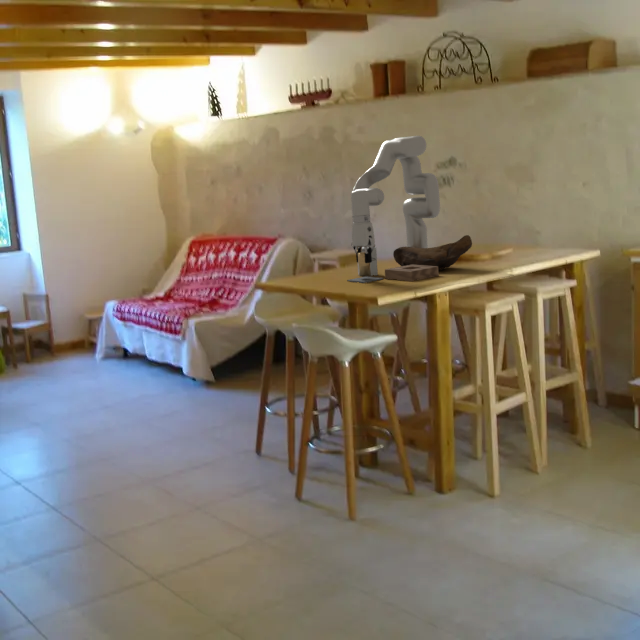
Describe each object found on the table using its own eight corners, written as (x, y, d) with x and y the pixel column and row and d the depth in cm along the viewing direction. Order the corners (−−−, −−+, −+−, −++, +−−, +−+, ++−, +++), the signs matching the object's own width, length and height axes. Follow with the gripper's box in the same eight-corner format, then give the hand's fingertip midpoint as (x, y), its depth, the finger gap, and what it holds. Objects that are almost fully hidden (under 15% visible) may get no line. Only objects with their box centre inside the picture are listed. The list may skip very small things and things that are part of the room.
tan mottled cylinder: (365, 274, 355) (364, 251, 353) (373, 275, 351) (371, 252, 349) (356, 276, 352) (355, 253, 350) (364, 276, 348) (362, 253, 346)
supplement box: (362, 277, 363) (360, 248, 361) (358, 275, 370) (356, 247, 368) (378, 275, 364) (376, 246, 362) (373, 273, 371) (372, 245, 369)
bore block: (412, 273, 362) (412, 264, 361) (438, 275, 349) (438, 266, 348) (385, 278, 352) (384, 269, 351) (411, 281, 340) (410, 271, 339)
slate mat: (366, 277, 360) (366, 276, 360) (383, 279, 351) (383, 277, 351) (347, 281, 353) (347, 280, 353) (363, 283, 344) (363, 281, 344)
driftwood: (479, 268, 361) (477, 234, 359) (454, 274, 349) (452, 239, 346) (413, 265, 388) (411, 233, 385) (388, 271, 375) (386, 238, 372)
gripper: (381, 218, 343) (384, 262, 346) (355, 218, 356) (358, 260, 360) (367, 220, 338) (370, 264, 342) (341, 220, 352) (344, 262, 355)
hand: (364, 261), depth 351 cm, fingers closed on tan mottled cylinder, 4 cm apart
